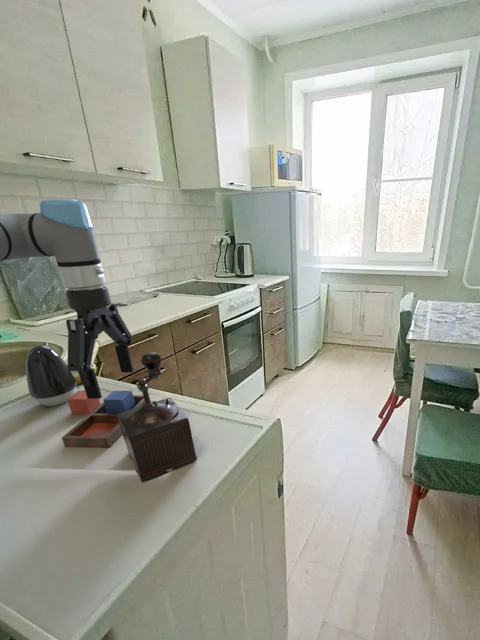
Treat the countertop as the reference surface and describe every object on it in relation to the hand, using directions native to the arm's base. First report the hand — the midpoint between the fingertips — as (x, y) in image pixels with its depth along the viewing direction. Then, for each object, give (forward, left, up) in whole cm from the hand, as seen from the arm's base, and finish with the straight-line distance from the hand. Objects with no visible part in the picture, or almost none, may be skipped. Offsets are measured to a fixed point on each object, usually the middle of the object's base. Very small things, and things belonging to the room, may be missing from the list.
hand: (112, 383), depth 79 cm
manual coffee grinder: (+15, -13, -8) cm, 22 cm away
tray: (0, -4, -8) cm, 9 cm away
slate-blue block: (0, 0, -7) cm, 7 cm away
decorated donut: (-25, +21, -8) cm, 33 cm away
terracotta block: (-10, +2, -8) cm, 13 cm away
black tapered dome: (-21, +7, -8) cm, 23 cm away
